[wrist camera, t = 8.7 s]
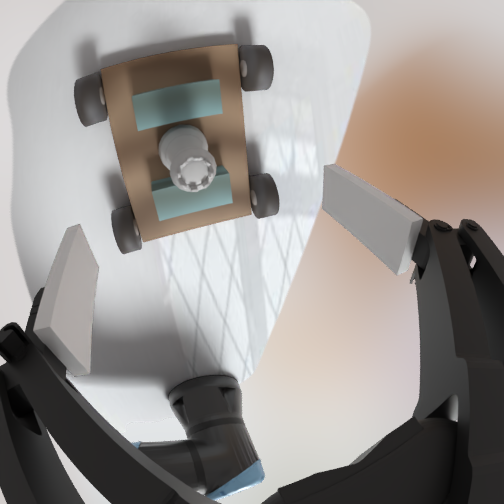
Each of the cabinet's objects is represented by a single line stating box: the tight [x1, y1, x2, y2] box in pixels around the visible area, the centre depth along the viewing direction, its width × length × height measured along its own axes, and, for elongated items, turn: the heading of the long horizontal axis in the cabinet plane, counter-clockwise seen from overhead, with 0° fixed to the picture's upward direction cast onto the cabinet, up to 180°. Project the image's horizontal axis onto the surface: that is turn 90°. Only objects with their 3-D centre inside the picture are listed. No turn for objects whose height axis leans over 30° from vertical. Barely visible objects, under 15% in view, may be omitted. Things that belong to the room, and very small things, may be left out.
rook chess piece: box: [159, 125, 217, 192], centre depth 21 cm, size 4×4×8 cm
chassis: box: [74, 44, 279, 254], centre depth 23 cm, size 18×16×4 cm
